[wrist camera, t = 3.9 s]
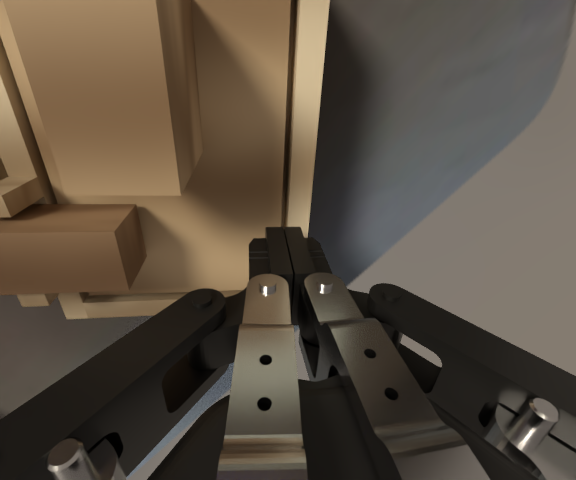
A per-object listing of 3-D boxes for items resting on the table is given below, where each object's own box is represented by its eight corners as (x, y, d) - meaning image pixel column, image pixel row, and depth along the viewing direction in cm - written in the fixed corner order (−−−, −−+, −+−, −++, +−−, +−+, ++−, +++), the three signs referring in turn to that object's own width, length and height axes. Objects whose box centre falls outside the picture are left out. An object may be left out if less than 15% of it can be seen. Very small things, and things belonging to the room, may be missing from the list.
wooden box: (-145, -85, 12) (-679, -294, 5) (305, -38, 14) (360, -137, 7) (13, 257, 20) (-112, 359, 13) (288, 252, 22) (307, 335, 15)
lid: (-8, -63, 10) (-329, -227, 4) (288, -33, 11) (329, -130, 5) (99, 280, 16) (26, 386, 11) (276, 275, 17) (290, 368, 12)
